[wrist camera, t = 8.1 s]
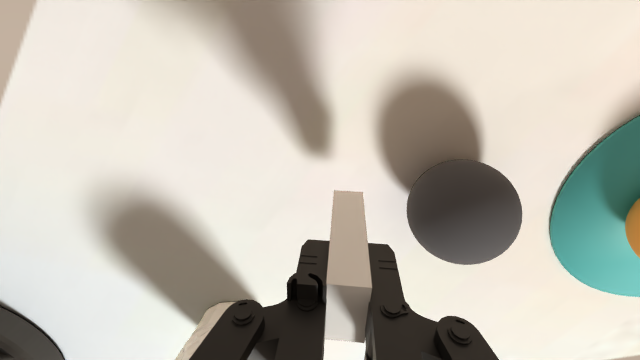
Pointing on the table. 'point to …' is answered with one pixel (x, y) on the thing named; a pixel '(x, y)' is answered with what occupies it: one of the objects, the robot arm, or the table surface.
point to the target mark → (601, 215)
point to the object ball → (633, 227)
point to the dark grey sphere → (464, 212)
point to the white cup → (202, 330)
